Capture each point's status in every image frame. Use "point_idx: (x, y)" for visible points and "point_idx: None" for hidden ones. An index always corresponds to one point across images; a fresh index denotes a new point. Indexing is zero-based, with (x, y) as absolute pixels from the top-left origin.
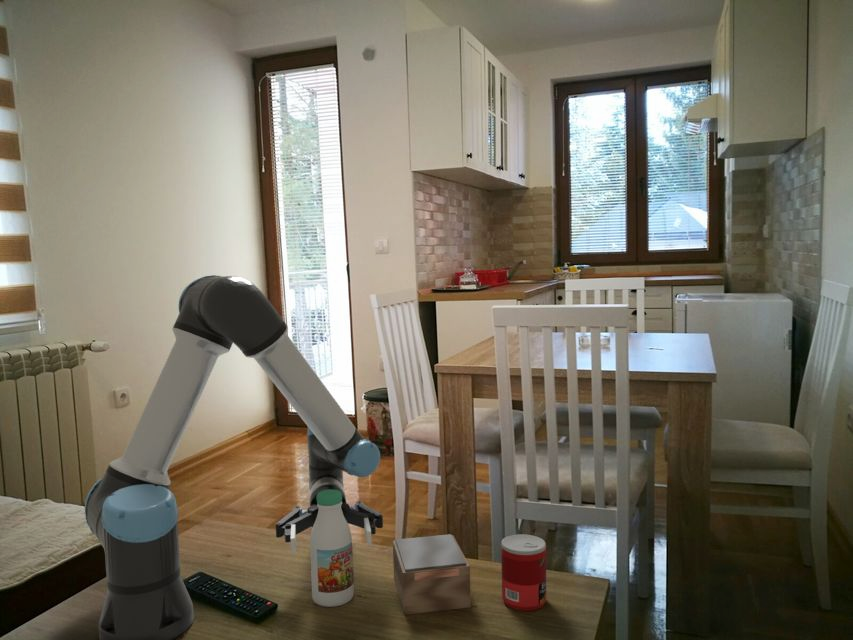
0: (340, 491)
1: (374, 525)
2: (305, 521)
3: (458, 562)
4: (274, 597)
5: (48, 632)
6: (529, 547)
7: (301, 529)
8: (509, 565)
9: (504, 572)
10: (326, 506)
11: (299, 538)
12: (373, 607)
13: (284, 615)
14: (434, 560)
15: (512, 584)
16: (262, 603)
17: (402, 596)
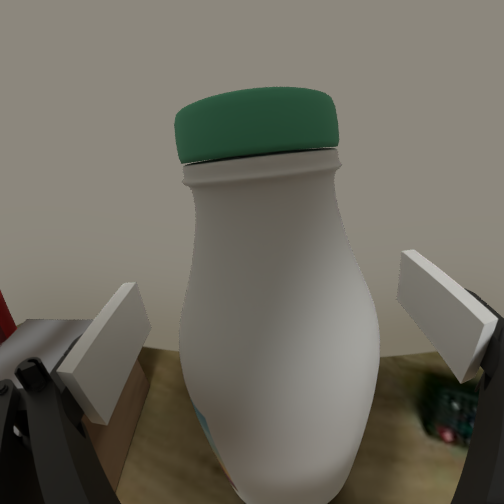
0: (176, 114)
1: (74, 343)
2: (486, 444)
3: (31, 322)
4: (446, 457)
5: None
6: None
7: (476, 433)
8: (5, 307)
9: (7, 326)
10: (275, 153)
11: None
12: (195, 419)
13: (392, 400)
14: (49, 334)
15: (16, 329)
16: (459, 430)
17: (135, 378)
